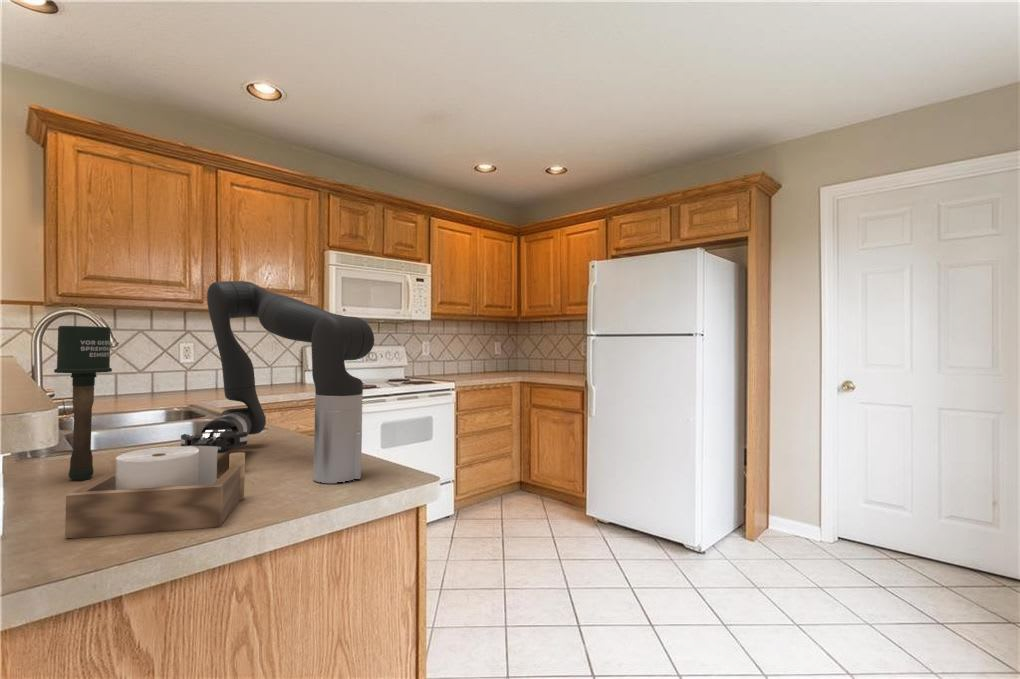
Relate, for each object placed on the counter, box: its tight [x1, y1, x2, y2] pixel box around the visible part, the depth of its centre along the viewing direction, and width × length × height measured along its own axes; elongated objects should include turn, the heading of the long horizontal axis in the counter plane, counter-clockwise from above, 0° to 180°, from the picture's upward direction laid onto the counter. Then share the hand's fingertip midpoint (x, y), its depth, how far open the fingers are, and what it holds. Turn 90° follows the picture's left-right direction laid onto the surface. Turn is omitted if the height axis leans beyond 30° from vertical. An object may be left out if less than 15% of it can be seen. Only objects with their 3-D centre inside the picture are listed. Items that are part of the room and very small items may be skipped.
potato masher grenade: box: [53, 325, 113, 482], centre depth 96 cm, size 8×9×30 cm
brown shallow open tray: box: [64, 451, 246, 540], centre depth 77 cm, size 20×14×8 cm
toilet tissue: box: [115, 445, 218, 490], centre depth 77 cm, size 11×12×10 cm
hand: (201, 448), depth 94 cm, fingers closed
